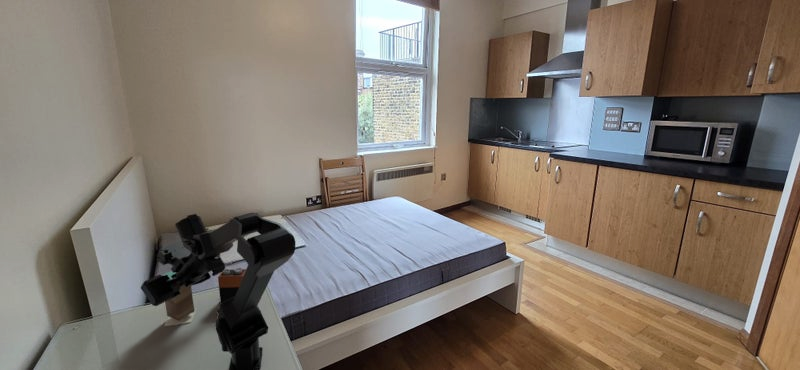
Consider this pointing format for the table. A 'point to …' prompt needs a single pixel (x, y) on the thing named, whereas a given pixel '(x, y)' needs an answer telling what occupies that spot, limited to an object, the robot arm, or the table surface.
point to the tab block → (180, 302)
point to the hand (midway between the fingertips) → (174, 290)
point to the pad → (183, 320)
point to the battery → (230, 283)
